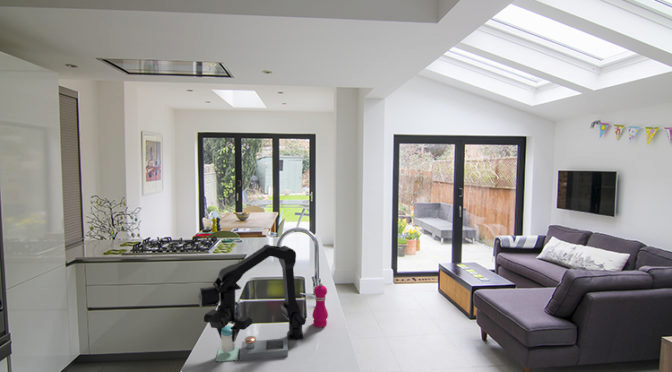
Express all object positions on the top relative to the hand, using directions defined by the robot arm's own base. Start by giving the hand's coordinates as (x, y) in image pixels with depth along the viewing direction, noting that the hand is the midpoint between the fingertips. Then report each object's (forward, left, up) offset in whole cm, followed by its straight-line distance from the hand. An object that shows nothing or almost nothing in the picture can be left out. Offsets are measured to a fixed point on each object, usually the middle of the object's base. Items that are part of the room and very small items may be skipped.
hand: (228, 340), depth 137 cm
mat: (0, 0, -6) cm, 6 cm away
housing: (0, +14, -6) cm, 15 cm away
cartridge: (0, 0, -3) cm, 3 cm away
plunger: (0, +8, -6) cm, 10 cm away
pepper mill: (-20, +39, -6) cm, 44 cm away
